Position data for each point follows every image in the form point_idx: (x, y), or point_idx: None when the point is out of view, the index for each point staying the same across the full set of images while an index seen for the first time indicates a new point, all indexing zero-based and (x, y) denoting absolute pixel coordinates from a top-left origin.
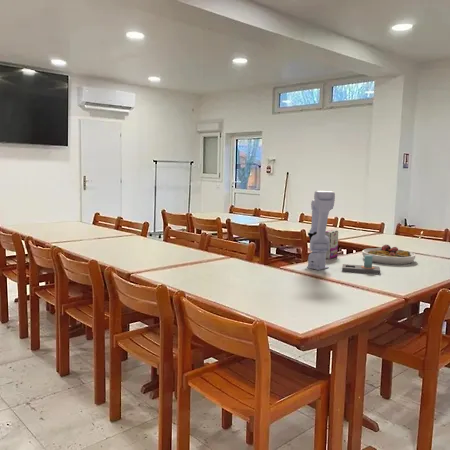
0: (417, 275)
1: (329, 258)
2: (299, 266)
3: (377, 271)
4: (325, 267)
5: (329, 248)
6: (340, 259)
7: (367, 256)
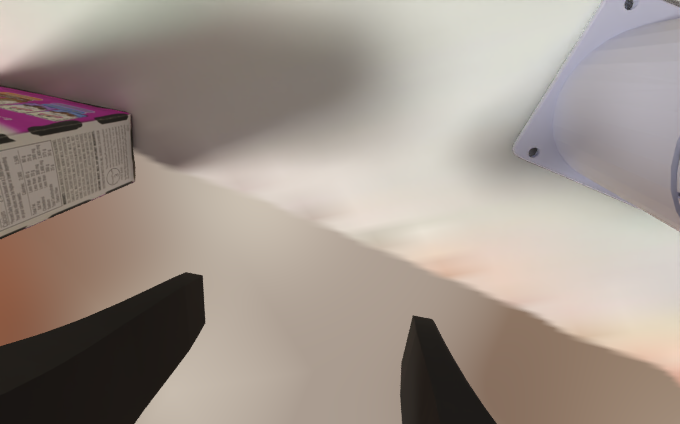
0: None
1: (127, 120)
2: (618, 287)
3: None
4: (670, 14)
5: (31, 143)
6: (65, 11)
7: None
